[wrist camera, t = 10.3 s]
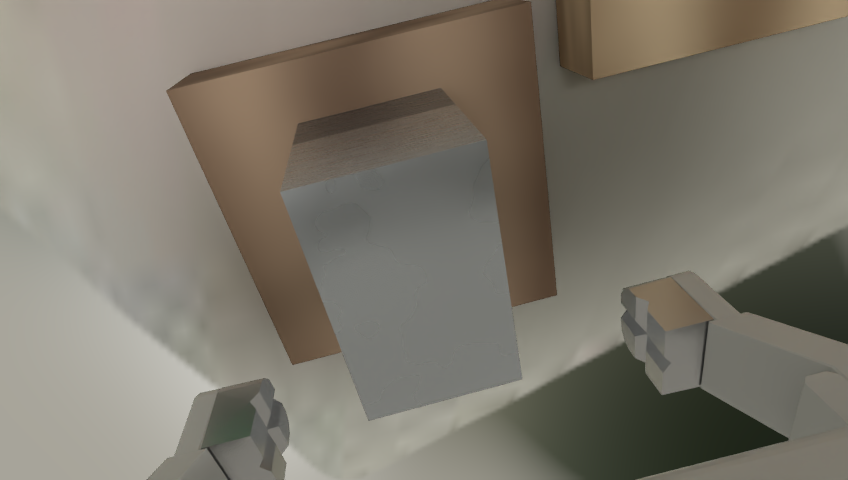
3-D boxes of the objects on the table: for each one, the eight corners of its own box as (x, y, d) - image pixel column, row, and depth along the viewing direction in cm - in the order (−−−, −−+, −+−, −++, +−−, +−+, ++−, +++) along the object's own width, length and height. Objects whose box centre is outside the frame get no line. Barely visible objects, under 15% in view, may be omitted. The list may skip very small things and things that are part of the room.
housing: (440, 87, 17) (486, 139, 12) (476, 277, 21) (522, 379, 16) (298, 123, 17) (280, 192, 12) (361, 307, 21) (368, 420, 16)
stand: (503, -3, 19) (530, 1, 16) (533, 260, 25) (556, 295, 22) (190, 74, 18) (166, 91, 16) (297, 322, 24) (292, 365, 22)
